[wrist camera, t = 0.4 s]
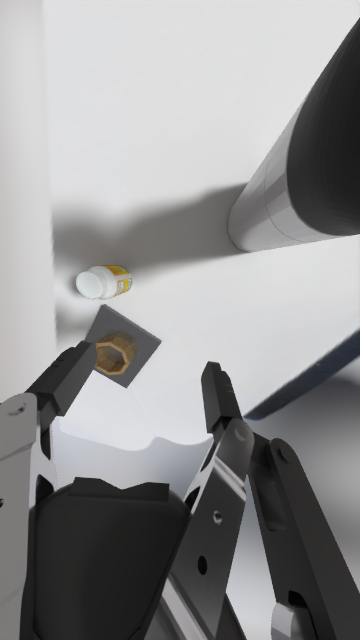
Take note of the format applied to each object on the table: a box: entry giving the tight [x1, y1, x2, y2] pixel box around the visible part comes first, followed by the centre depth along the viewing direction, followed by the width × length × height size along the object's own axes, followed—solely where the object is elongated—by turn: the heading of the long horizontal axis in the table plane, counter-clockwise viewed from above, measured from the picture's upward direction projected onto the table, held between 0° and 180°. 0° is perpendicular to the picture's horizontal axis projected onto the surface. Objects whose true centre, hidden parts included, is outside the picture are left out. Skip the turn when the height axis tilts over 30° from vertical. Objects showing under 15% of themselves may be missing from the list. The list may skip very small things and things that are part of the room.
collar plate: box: [85, 304, 162, 388], centre depth 35 cm, size 18×15×4 cm
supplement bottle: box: [76, 265, 133, 299], centre depth 26 cm, size 5×5×10 cm
